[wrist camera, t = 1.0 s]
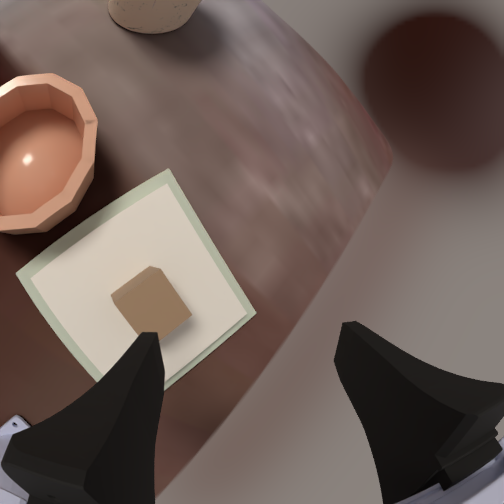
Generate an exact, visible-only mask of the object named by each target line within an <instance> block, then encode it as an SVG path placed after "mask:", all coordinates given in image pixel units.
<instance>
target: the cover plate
mask: <svg viewBox="0 0 504 504" xmlns="http://www.w3.org/2000/svg"><path fill="white" fill-rule="evenodd" d="M30 279H31V280H32V282H33V284H34V285H35V287H36V288H37V290H38V291H39V293H40V294H41V296H42V297H43V299H44V300H45V302H46V303H47V305H48V306H49V308H50V309H51V311H52V312H53V313H54V315H55V316H56V318H57V319H58V320H59V322H60V323H61V324H62V326H63V327H64V328H65V330H66V331H67V332H68V334H69V335H70V336H71V338H72V339H73V340H74V341H75V343H76V344H77V345H78V346H79V348H80V349H81V350H82V351H83V352H84V354H85V355H86V356H87V357H88V358H89V360H90V361H91V362H92V363H93V364H94V365H95V366H96V368H97V369H98V370H99V371H100V372H101V373H102V374H103V375H105V374H106V373H107V372H108V371H109V370H110V369H111V368H112V367H113V366H114V364H115V363H116V362H117V361H118V360H119V359H120V358H121V356H122V355H123V354H124V353H125V352H126V350H127V349H128V348H129V347H130V346H131V344H132V343H133V342H134V341H135V339H136V338H137V337H138V336H139V335H140V334H141V333H142V332H158V338H159V343H160V348H161V354H162V359H163V363H164V368H165V381H167V380H168V379H169V378H170V377H172V376H173V375H174V374H175V373H177V372H178V371H179V370H180V369H182V368H183V367H184V366H185V365H187V364H188V363H189V362H190V361H191V360H193V359H194V358H195V357H196V356H198V355H199V354H200V353H201V352H202V351H204V350H205V349H206V348H207V347H208V346H210V345H211V344H212V343H213V342H214V341H216V340H217V339H218V338H219V337H220V336H222V335H223V334H224V333H225V332H226V331H227V330H229V329H230V328H231V327H232V326H233V325H234V324H236V323H237V322H238V321H239V320H240V319H241V318H243V317H244V316H245V315H246V314H247V312H246V311H245V309H244V308H243V306H242V305H241V303H240V302H239V300H238V298H237V297H236V295H235V294H234V292H233V291H232V289H231V287H230V286H229V284H228V283H227V281H226V280H225V278H224V276H223V275H222V273H221V272H220V270H219V268H218V267H217V265H216V264H215V262H214V260H213V259H212V257H211V256H210V254H209V252H208V251H207V249H206V247H205V246H204V244H203V243H202V241H201V239H200V238H199V236H198V234H197V233H196V231H195V229H194V228H193V226H192V224H191V223H190V221H189V220H188V218H187V216H186V215H185V213H184V211H183V209H182V208H181V206H180V204H179V203H178V201H177V199H176V198H175V196H174V194H173V193H172V191H171V189H170V187H169V186H168V184H165V185H163V186H162V187H160V188H158V189H157V190H155V191H153V192H152V193H150V194H149V195H147V196H145V197H144V198H142V199H141V200H139V201H137V202H136V203H134V204H133V205H131V206H129V207H128V208H126V209H125V210H123V211H122V212H120V213H119V214H117V215H116V216H114V217H113V218H111V219H110V220H108V221H107V222H105V223H104V224H102V225H101V226H99V227H98V228H97V229H95V230H94V231H92V232H91V233H89V234H88V235H87V236H85V237H84V238H82V239H81V240H80V241H78V242H77V243H75V244H74V245H73V246H71V247H70V248H69V249H67V250H66V251H65V252H63V253H62V254H61V255H59V256H58V257H57V258H55V259H54V260H53V261H52V262H50V263H49V264H48V265H46V266H45V267H44V268H43V269H41V270H40V271H39V272H38V273H36V274H35V275H34V276H33V277H32V278H30Z"/></svg>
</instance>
